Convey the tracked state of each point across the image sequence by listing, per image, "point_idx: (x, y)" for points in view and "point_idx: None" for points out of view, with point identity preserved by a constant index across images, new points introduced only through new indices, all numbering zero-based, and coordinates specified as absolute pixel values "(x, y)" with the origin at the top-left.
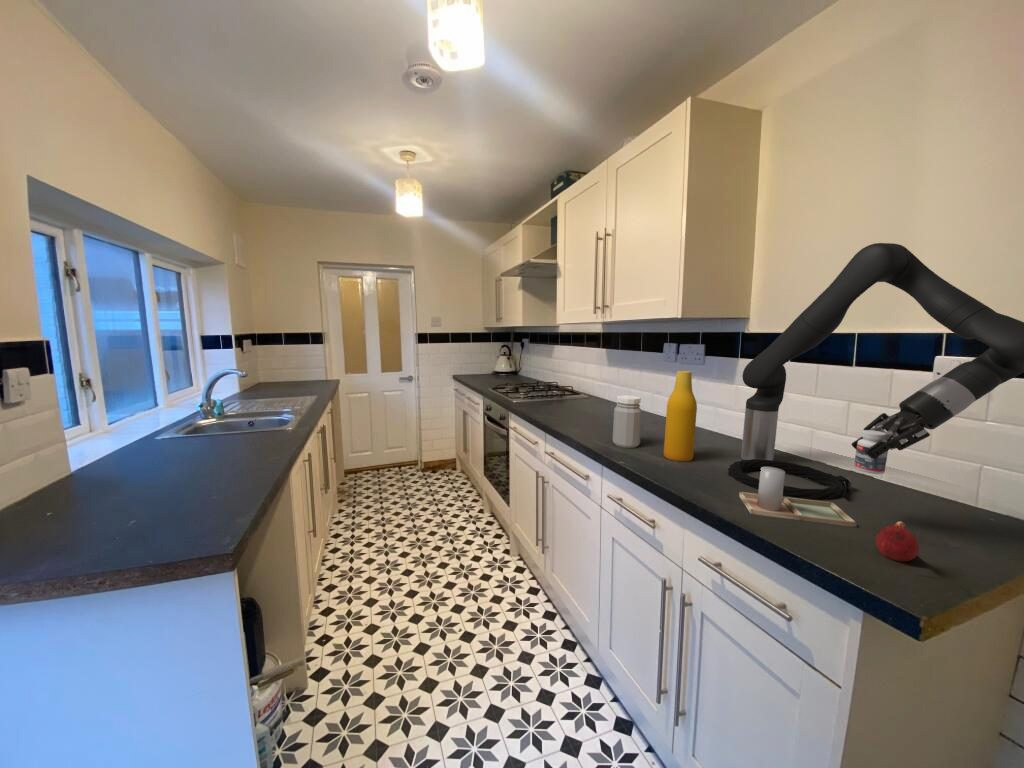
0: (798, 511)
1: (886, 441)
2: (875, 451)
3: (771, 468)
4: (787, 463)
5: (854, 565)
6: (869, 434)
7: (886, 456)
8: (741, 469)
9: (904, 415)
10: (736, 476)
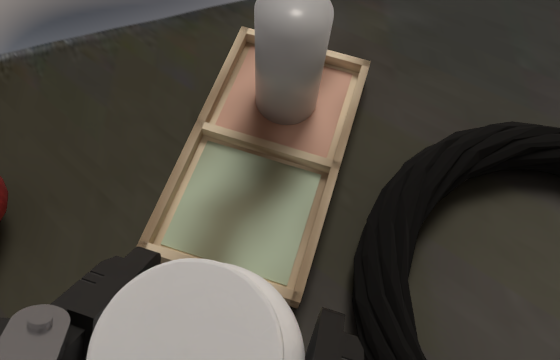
0: (227, 133)
1: (22, 315)
2: (94, 270)
3: (312, 16)
4: None
5: (5, 120)
6: (161, 267)
7: None
8: None
9: None
10: (516, 122)
